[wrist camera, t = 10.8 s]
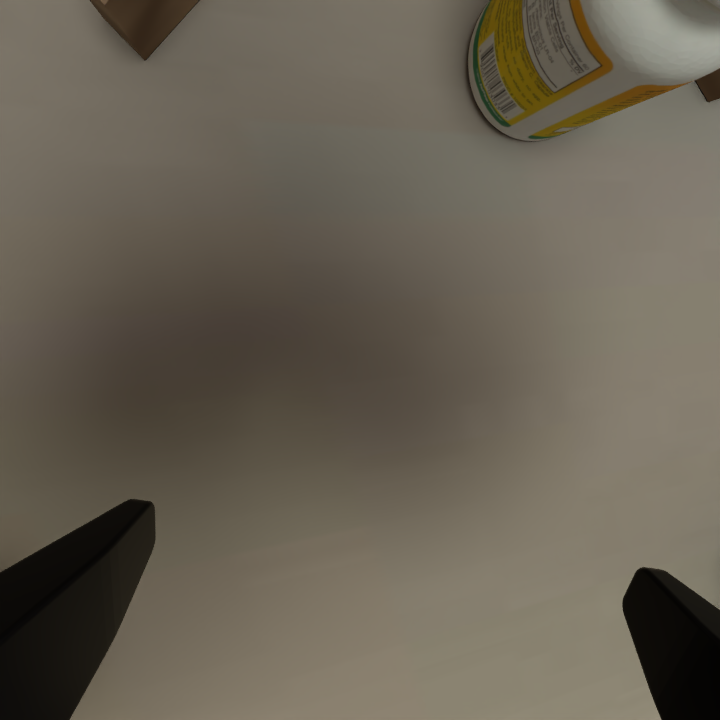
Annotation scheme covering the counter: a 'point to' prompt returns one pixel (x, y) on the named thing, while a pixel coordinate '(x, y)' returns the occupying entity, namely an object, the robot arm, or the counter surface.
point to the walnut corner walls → (171, 3)
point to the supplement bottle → (585, 58)
